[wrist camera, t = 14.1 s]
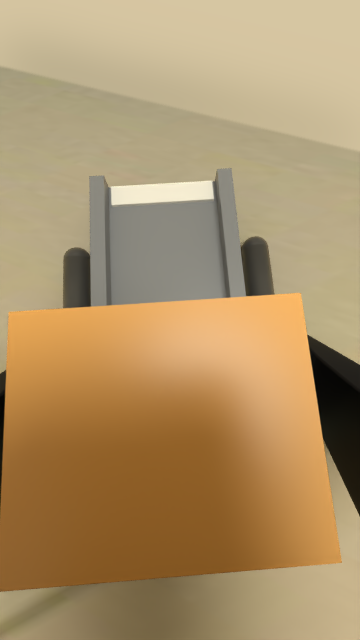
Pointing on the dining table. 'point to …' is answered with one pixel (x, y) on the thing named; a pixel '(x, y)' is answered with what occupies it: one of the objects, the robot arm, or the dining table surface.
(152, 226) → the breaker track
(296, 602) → the dining table surface
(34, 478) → the orange-capped post
